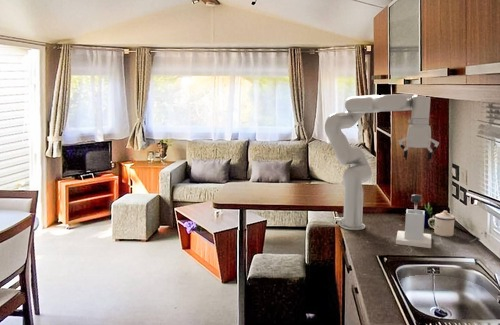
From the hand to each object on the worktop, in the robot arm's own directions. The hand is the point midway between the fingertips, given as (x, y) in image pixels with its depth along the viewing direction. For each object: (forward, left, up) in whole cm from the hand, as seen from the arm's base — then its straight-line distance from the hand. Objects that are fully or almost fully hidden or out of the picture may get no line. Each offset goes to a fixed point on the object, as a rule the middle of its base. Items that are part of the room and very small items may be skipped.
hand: (417, 159), depth 203 cm
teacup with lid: (+13, +16, -38) cm, 43 cm away
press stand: (+1, -1, -38) cm, 38 cm away
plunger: (+1, -1, -34) cm, 34 cm away
